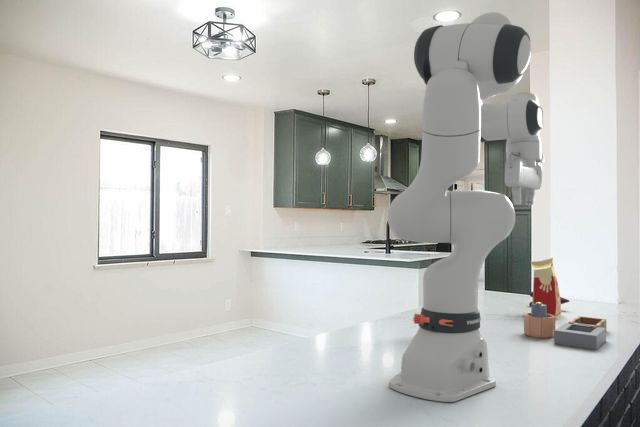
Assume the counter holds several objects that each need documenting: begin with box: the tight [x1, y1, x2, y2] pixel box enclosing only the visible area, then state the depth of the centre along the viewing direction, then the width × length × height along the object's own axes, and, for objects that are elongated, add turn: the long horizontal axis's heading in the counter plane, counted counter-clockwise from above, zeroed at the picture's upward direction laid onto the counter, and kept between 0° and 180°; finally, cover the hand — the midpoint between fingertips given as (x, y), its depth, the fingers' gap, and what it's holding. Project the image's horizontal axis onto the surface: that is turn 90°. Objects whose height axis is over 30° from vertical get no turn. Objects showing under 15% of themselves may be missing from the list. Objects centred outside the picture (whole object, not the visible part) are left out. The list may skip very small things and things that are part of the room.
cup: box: [523, 312, 556, 339], centre depth 141 cm, size 8×8×6 cm
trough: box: [568, 315, 607, 329], centre depth 144 cm, size 12×8×3 cm, turn 140°
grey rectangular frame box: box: [553, 322, 607, 350], centre depth 132 cm, size 12×10×4 cm
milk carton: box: [530, 257, 562, 320], centre depth 169 cm, size 9×9×20 cm
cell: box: [530, 302, 547, 318], centre depth 141 cm, size 4×4×9 cm
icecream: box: [529, 291, 570, 307], centre depth 182 cm, size 7×7×15 cm
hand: (523, 204), depth 134 cm, fingers open, 8 cm apart
